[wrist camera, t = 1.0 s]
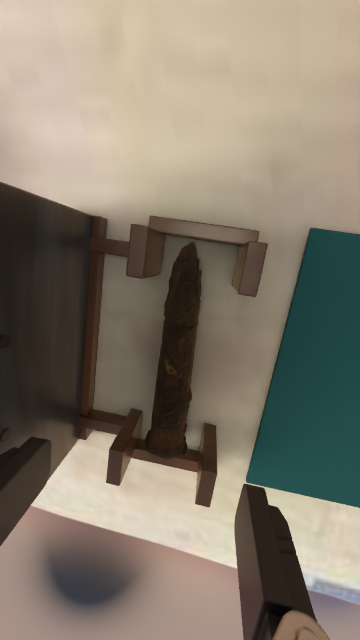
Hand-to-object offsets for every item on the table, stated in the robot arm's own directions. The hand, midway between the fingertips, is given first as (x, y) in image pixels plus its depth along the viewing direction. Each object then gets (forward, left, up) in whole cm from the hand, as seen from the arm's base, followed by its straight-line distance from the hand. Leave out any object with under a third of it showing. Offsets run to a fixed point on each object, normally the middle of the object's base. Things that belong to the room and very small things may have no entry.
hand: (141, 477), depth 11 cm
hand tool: (+1, 0, -15) cm, 15 cm away
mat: (-15, 0, -15) cm, 21 cm away
